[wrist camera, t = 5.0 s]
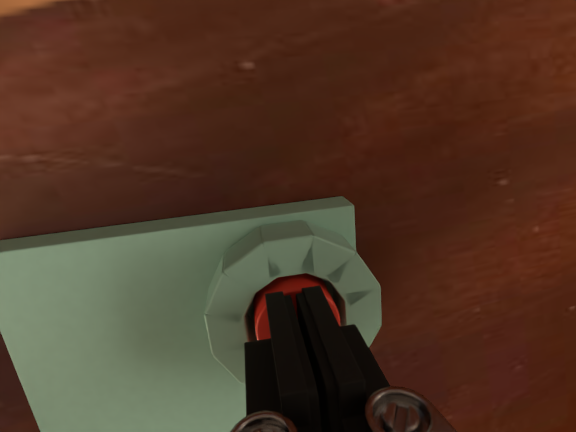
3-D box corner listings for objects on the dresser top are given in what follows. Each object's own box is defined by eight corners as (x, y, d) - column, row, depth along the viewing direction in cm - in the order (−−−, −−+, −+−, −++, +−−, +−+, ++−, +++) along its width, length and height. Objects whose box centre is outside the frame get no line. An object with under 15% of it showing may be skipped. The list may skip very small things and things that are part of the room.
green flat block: (-1, 240, 12) (-76, 280, 9) (349, 194, 13) (380, 217, 10) (103, 524, 16) (74, 614, 13) (361, 469, 17) (386, 540, 14)
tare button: (248, 270, 12) (250, 296, 10) (324, 259, 12) (338, 282, 10) (257, 336, 12) (261, 371, 11) (329, 324, 13) (343, 356, 11)
